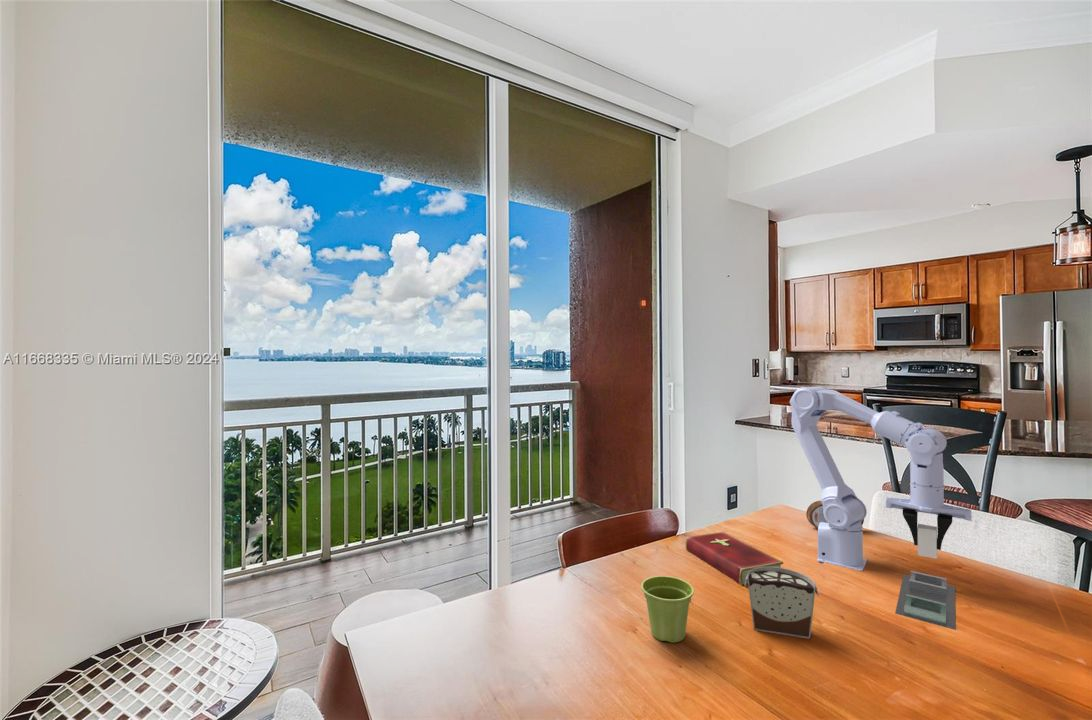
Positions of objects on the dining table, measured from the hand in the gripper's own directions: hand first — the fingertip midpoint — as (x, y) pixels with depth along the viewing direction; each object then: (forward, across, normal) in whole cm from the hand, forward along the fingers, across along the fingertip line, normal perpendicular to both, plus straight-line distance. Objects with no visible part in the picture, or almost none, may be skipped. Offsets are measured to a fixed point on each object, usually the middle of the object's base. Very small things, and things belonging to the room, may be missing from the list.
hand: (927, 546), depth 104 cm
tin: (+10, -22, +28) cm, 37 cm away
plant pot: (+9, -36, -52) cm, 64 cm away
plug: (+2, 0, 0) cm, 2 cm away
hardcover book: (+10, -38, -14) cm, 41 cm away
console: (+9, 0, -7) cm, 12 cm away
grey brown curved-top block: (+9, -21, -36) cm, 43 cm away
